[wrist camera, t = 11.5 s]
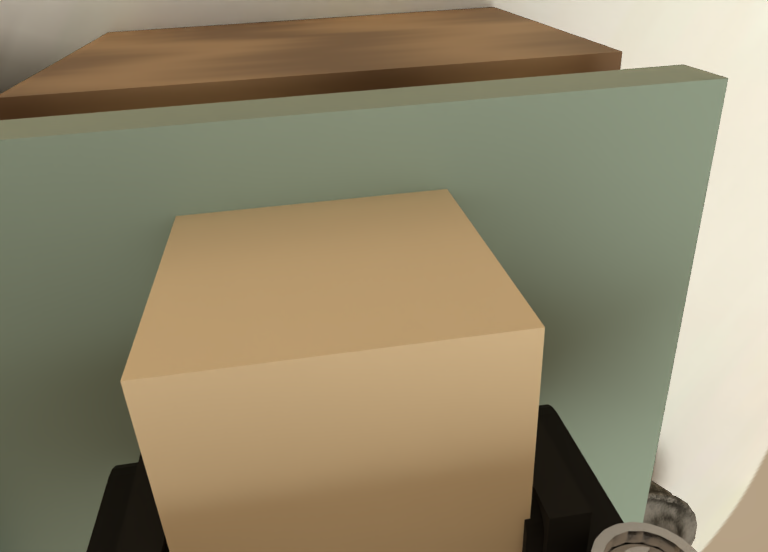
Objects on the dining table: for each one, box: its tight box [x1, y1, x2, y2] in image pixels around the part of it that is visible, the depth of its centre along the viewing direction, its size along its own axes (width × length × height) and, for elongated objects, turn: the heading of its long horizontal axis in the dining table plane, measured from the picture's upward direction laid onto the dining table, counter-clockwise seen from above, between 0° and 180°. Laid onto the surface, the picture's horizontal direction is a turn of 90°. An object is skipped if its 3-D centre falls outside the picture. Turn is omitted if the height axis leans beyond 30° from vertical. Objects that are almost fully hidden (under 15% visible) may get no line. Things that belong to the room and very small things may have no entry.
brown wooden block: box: [0, 7, 622, 120], centre depth 19 cm, size 12×10×9 cm
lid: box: [0, 65, 728, 552], centre depth 10 cm, size 13×11×5 cm
